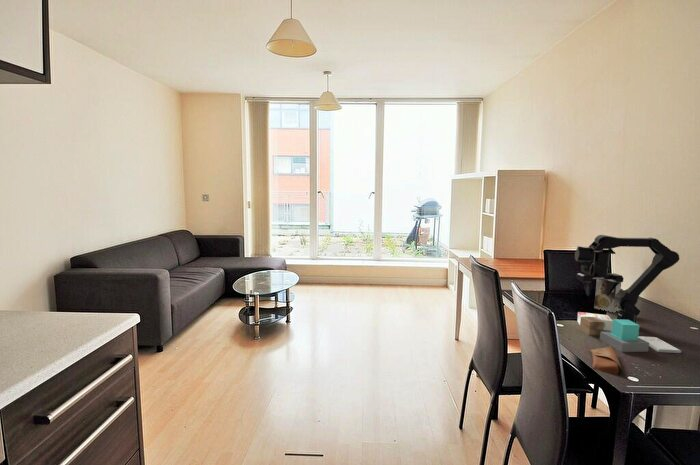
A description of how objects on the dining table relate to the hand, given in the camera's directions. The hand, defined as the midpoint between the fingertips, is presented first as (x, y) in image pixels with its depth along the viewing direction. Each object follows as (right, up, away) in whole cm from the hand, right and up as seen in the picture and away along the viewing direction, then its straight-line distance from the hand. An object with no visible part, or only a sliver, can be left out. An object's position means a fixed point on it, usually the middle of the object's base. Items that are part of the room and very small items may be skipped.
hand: (597, 295), depth 169 cm
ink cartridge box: (-10, -10, -3) cm, 15 cm away
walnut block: (-11, -14, -12) cm, 21 cm away
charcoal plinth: (-6, -16, -24) cm, 30 cm away
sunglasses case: (-24, -18, -38) cm, 48 cm away
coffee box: (+17, -11, +19) cm, 28 cm away
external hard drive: (+8, -17, -24) cm, 30 cm away
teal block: (-6, -12, -25) cm, 28 cm away
